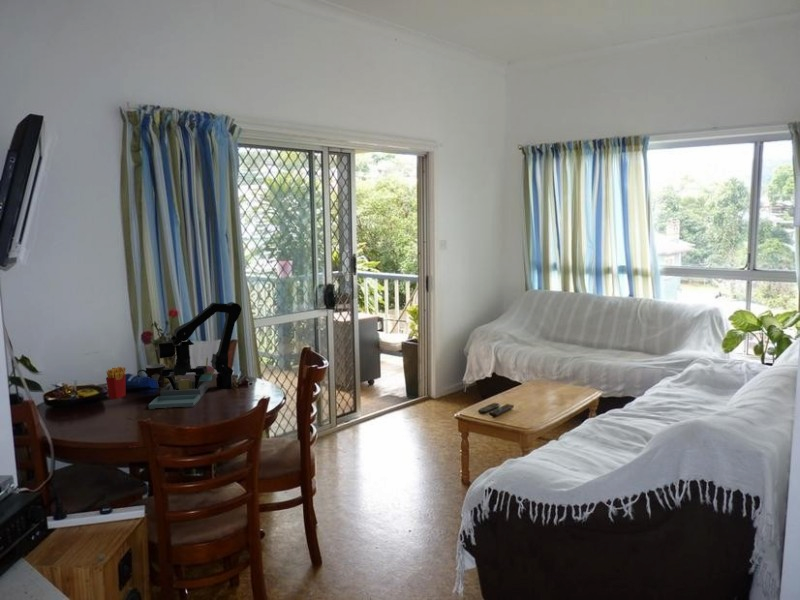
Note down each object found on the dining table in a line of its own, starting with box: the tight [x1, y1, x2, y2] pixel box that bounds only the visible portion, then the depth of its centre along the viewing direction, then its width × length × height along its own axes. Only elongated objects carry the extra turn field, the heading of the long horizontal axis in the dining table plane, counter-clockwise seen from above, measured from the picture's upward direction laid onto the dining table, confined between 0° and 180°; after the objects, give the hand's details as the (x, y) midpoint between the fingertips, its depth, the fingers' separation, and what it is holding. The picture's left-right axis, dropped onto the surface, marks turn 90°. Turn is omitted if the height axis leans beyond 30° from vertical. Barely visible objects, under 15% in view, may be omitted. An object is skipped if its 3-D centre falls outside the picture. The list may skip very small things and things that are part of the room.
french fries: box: [105, 366, 126, 400], centre depth 278 cm, size 9×4×13 cm, turn 155°
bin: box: [159, 380, 210, 398], centre depth 282 cm, size 17×17×4 cm
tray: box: [148, 395, 201, 410], centre depth 265 cm, size 18×12×2 cm, turn 95°
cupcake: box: [200, 355, 216, 382], centre depth 304 cm, size 9×8×12 cm
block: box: [177, 378, 192, 390], centre depth 282 cm, size 4×4×6 cm
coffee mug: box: [137, 363, 166, 388], centre depth 294 cm, size 12×9×10 cm
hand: (185, 389), depth 282 cm, fingers open, 9 cm apart
